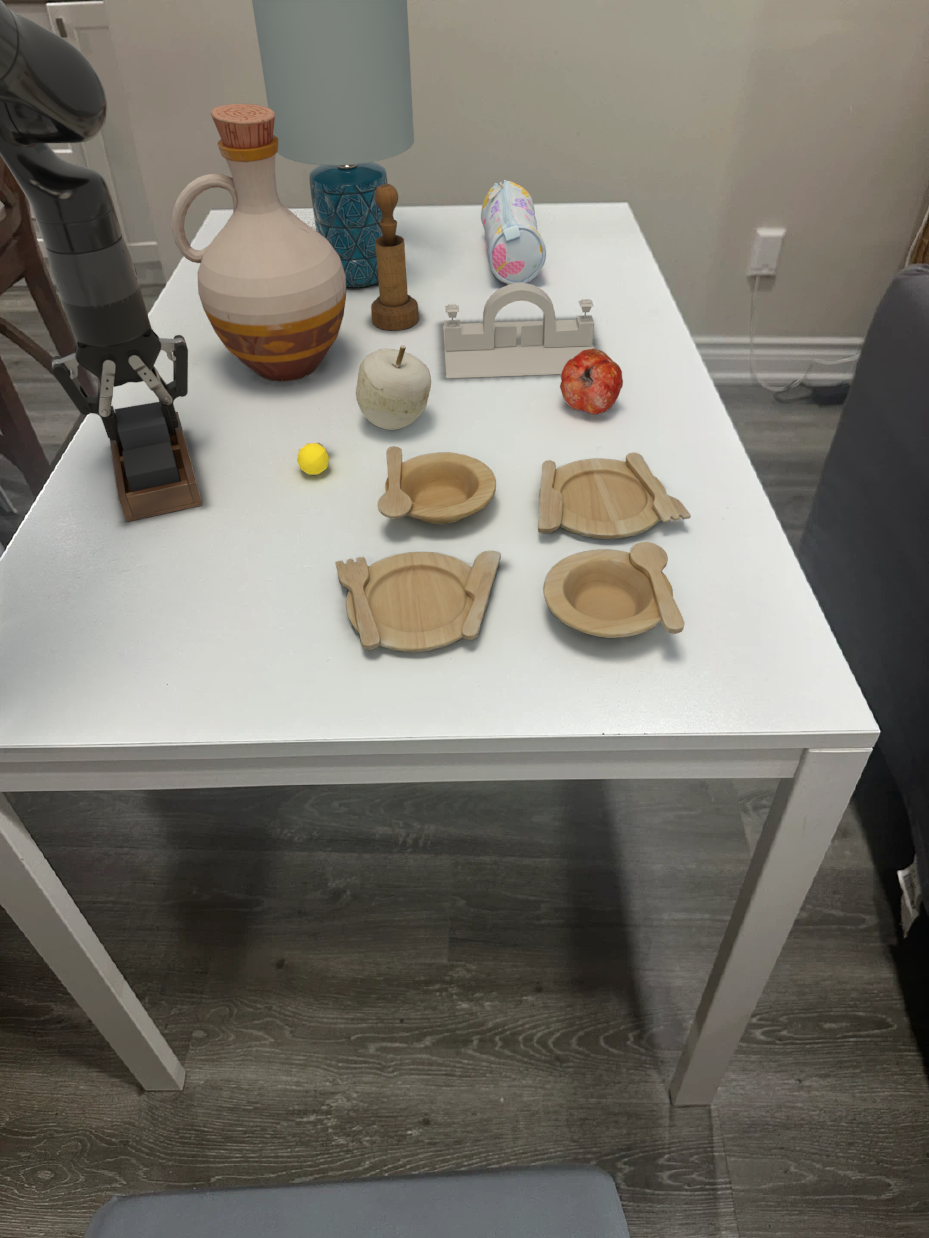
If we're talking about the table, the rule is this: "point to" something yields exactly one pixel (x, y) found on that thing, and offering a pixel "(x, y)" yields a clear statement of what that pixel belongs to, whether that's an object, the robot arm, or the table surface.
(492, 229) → the pencil case
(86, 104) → the robot arm
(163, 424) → the pad right
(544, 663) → the table surface
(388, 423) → the decorative object
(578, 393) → the pomegranate
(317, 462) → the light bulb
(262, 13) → the lamp
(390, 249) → the mortar and pestle
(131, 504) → the back frame
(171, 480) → the pad left
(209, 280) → the jug
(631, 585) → the tableware set
